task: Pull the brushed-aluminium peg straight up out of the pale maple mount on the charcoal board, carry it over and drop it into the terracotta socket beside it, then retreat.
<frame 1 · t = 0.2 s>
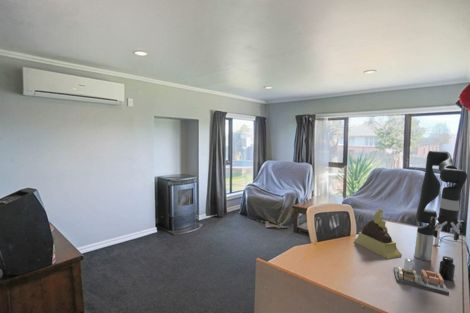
hand: (445, 238, 135), 28 cm above the table, fingers open, 8 cm apart
peg: (407, 277, 148), point 1 cm above the table, touching mount board
socket: (431, 282, 146), resting on mount board
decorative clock: (376, 249, 188), on the table
supplement bottle: (445, 278, 152), on the table
mount board: (419, 281, 147), on the table
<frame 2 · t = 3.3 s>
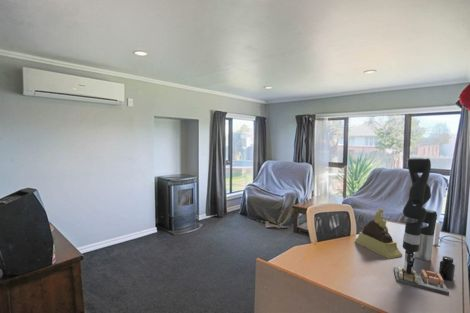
hand: (407, 270, 147), 5 cm above the table, fingers closed on peg, 4 cm apart
peg: (407, 277, 148), point 1 cm above the table, touching gripper, mount board
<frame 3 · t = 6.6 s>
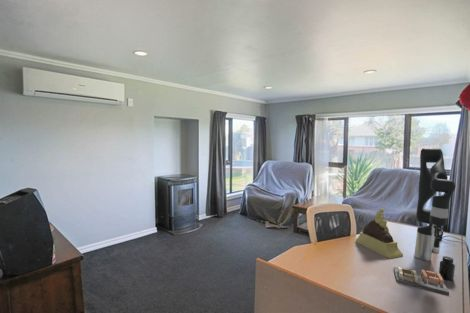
hand: (435, 245, 145), 21 cm above the table, fingers closed on peg, 4 cm apart
peg: (434, 252, 145), point 17 cm above the table, touching gripper
when the fingers open (6 cm above the table, at t = 9.8 s): peg stays where it is, resting on mount board.
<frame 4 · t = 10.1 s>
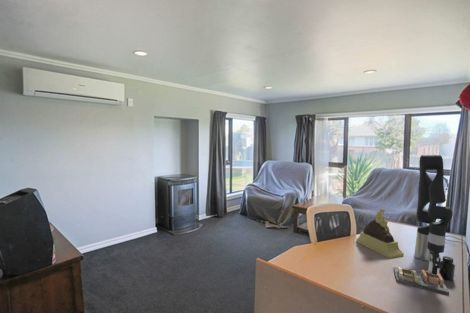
hand: (432, 271, 146), 7 cm above the table, fingers open, 6 cm apart
peg: (431, 279, 146), point 2 cm above the table, touching mount board
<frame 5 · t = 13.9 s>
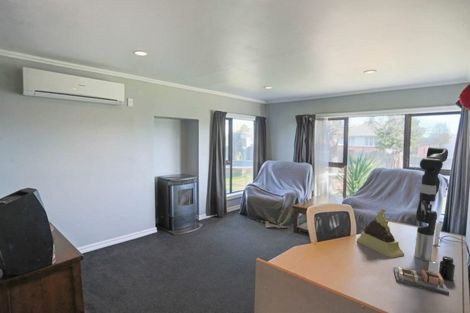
hand: (424, 219, 156), 32 cm above the table, fingers open, 8 cm apart
at the end: peg 0.1 cm off-centre on the socket, point 1.5 cm above the socket's base; peg tilted 0°; the gripper is holding nothing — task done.
